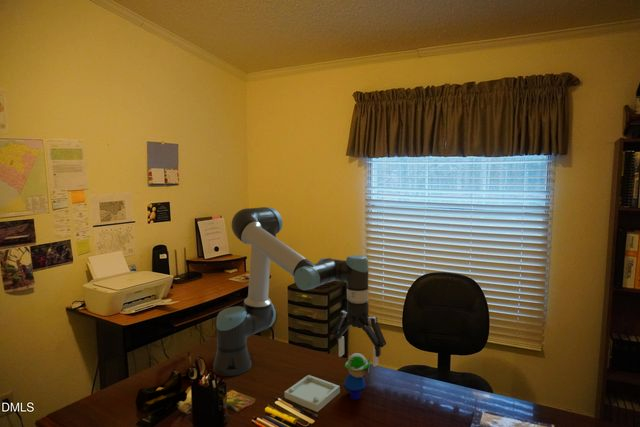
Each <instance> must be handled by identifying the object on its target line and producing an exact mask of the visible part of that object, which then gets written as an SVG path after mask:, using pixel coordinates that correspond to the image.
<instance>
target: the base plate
mask: <svg viewBox="0 0 640 427" xmlns="http://www.w3.org/2000/svg"><path fill="white" fill-rule="evenodd" d="M340 393H341V386H340V385H338V384H335V383H333V382H329V381H327V380H324V379H321V378H319V377H316V376H312V375H311V374H308V375H306V376H304V377H303V378H302V379H300V380H299V381H297V382H296V383H295V384H293V385H292V386H291V387H289V388H288V389H286V390H285V391H284V399H286V400H288V401H290V402H293V403H296V404H297V405H299V406H301V407H304V408H306V409H309V410H312V411H314V412H317V413H318V412H319V411H321V410H322V409H323V408H324V407H325V406H326V405H327V404H329V403H330V402H331V401H332V400H333V399H334V398H336V396H338V395H339V394H340Z"/></svg>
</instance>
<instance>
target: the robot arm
mask: <svg viewBox="0 0 640 427" xmlns="http://www.w3.org/2000/svg"><path fill="white" fill-rule="evenodd" d="M282 229H283V219H282V215H281V214H280V212H279V211H278V210H277V209H275V208H274V207H265V206H261V207H251V208H246V207H245V208H242V209H240V210H238V211H237V212H236V213H235V214H234V215H233V218H232V219H231V230H232V233H233V235H234V236H235V237H236V238H237V240H239V241H241V243H243V244H245V245H250V260H249V274H248V292H247V293H248V294H247V297H246V298H245V299H244V300H243V306H238V305H237V306H230V307H227V308H224V309H222V310H221V311H219V313H218V314H217V316H216V324H215V326H216V353H215V358H214V360H213V362H212V370H213V372H214V374H216V375H218V376H221V377H234V376H235V377H236V376H239V375H242V374H244V373H247V372H248V371H249V370H250V369H252V368H251V367H252V357H251V356H250V352H249V350H248V347H247V346H248V345H247V343H248V342H247V339H248V338H249V337H251V336H253V335H255V334H257V333H260V332H263V331H266V330H267V329H269V328H271V327H272V326H273V324H274V323H275V321H276V316H277V313H276V312H277V311H276V309H275V306H274V304H273V303H272V300H271V299H270V297H269V290H270V275H271V261H272V262H273V263H275V264H276V265H277V266H278V267H280V268H281V269H283V271H286V272H287V273H289V275H291V276H292V277H293V281H294V284H296V287H297V288H298V289H300V290H302V291H308V290H313V289H316V288H317V287H320V286H323V285H326V284H328V283H331V282H333V281H334V282H343V283H346V300H347V301H346V310H345V309H343V310H340V311H339V312H338V313H339V314H338V318H337V320H336V323H335V325H334V327H333V330H332V331H331V335H332V336H335V337H336V346H337V347H338V357H339V358H341V357H343V355H345V336H343V335H344V334H345V333H346V331H348V330H349V328H350V327H351V326H352V328H353V327H354V328H358V329H362V331H363V332H365V334H366V335H367V337H368V338H369V340H370V341H371V343H372V345H373V347H372V367H377V366H378V365H379V358H380V356H381V355H382V352H381V351H382V348H383V347H385V346H386V345H387V342H386V339H385V337H384V334H383V332H382V330H381V327H380V325H379V323H378V322H379V321H378V317H377V316H376V315H375V316H370V315H369V312H370V311H369V310H370V309H369V307H370V306H369V304H370V303H369V295H370V294H369V270H370V268H369V259H368V257H367V256H365V255H360V254H358V255H357V254H356V255H355V254H354V255H353V254H352V255H348V256H347V257H346V259H345V260H344V259H337V258H331V257H328V258H325V257H324V258H320V259H319V260H318V261H317V263H314V262H312V261H311V260H309V259H308V258H306V257H305V256H303V255H302V254H301V253H299V252H297V251H296V250H294V249H293V248H292V247H290V246H289V245H287V244H286V243H285V242H283V241H281V240H280V239H279V238H277V235H278V234H279V233H280V232H281V231H282ZM345 318H347V320H348V321H347V322H346V323H345V325H344V326H343V327H342V324H343V323H344V321H345ZM341 327H342V328H341Z"/></svg>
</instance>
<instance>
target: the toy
mask: <svg viewBox="0 0 640 427" xmlns="http://www.w3.org/2000/svg"><path fill="white" fill-rule="evenodd" d="M370 357H371V356H370V355H369V358H368V359H367V358H366V357H365V356H364V355H363V354H361V353H358V352H355V353H352V354H351V355H350V356H349V357H348V360H347V361H345V363H344V368H346V369H347V371H348V374H347V376H346V378H345V380H344V386H343V388H344V389H345V390H346V391H348V392H349V395H350V399H352V400H354V401H355V400H359V399H361V394H362V392H363V391H365V390H366V388H367V384H366V380H365V379H364V376H366V374H367V381H369V378H370V368H371V367H370V366H371V365H372V363H371V361H370Z"/></svg>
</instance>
